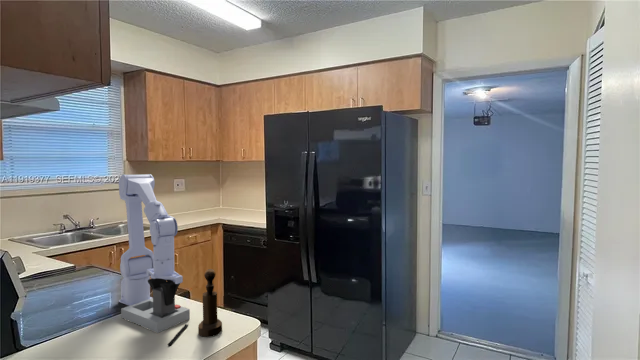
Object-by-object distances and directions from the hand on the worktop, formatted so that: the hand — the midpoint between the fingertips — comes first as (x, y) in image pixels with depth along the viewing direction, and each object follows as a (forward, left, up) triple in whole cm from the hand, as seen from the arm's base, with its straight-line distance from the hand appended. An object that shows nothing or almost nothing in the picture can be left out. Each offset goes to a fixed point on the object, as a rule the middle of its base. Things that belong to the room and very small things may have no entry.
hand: (164, 302), depth 107 cm
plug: (0, 0, -2) cm, 3 cm away
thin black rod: (+10, -3, -6) cm, 13 cm away
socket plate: (-5, 0, -6) cm, 7 cm away
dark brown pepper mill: (+16, +3, -6) cm, 18 cm away
